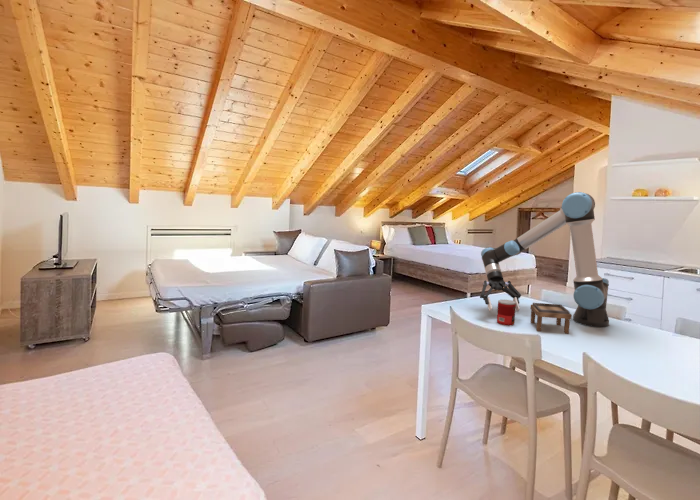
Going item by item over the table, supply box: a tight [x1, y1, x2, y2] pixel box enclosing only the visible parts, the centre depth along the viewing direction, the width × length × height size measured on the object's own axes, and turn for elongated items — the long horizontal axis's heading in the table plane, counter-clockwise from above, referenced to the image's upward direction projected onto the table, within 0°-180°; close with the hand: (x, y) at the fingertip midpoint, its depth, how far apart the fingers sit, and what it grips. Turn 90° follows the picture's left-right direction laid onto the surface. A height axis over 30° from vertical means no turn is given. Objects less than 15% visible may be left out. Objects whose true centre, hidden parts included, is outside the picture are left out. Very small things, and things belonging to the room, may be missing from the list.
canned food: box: [496, 299, 516, 327], centre depth 184 cm, size 8×8×11 cm
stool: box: [530, 302, 573, 335], centre depth 178 cm, size 14×14×10 cm
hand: (504, 310), depth 184 cm, fingers open, 13 cm apart
